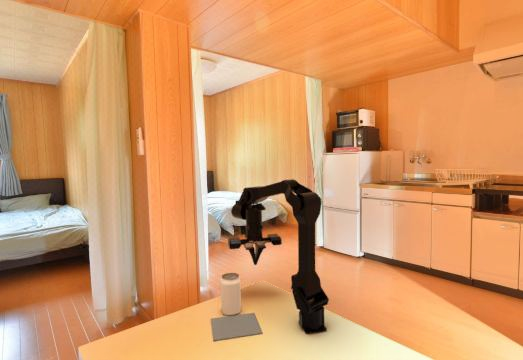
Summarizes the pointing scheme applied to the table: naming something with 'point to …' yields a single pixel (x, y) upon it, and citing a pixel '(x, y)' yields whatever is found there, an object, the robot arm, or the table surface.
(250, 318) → the mat
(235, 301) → the can
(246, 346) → the table surface
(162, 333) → the table surface
